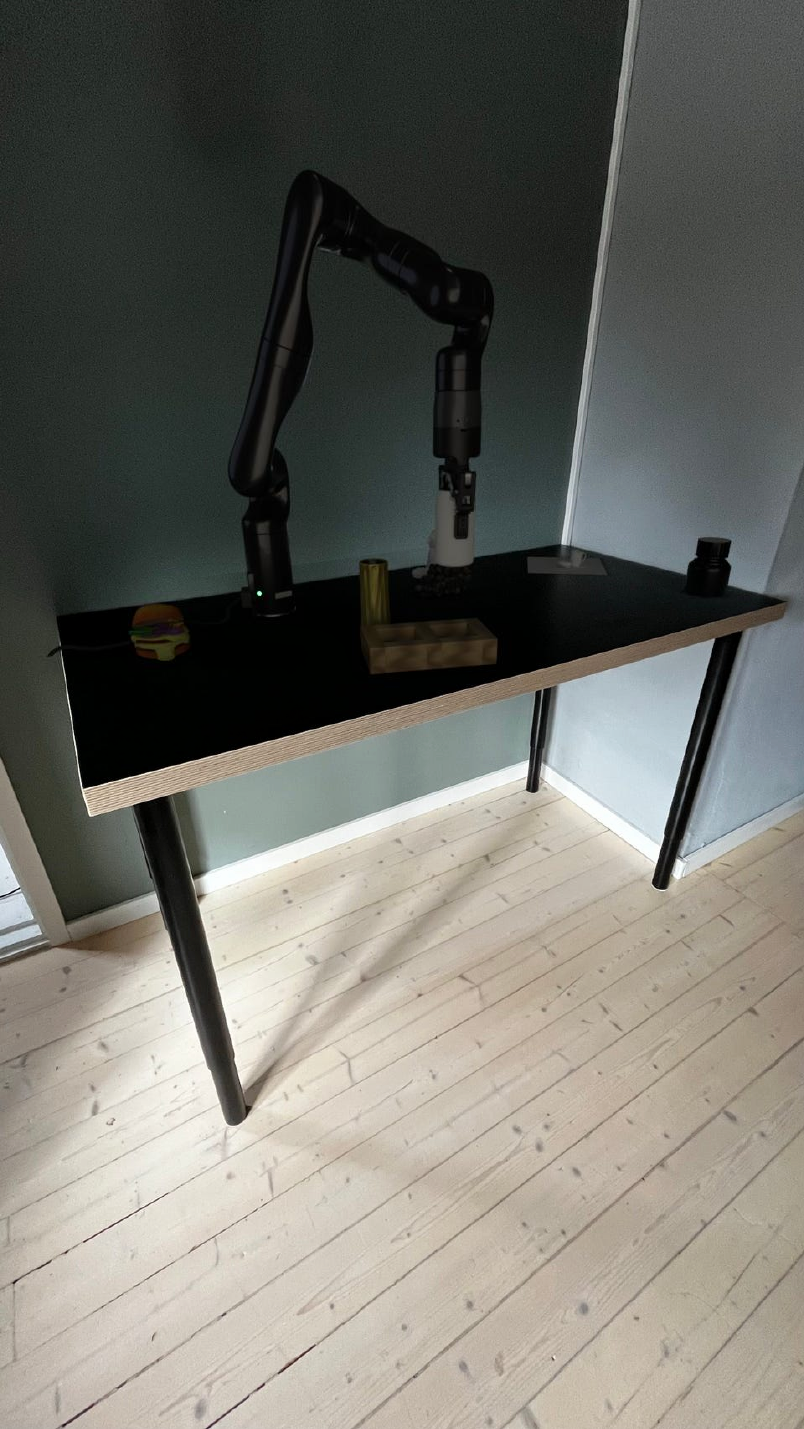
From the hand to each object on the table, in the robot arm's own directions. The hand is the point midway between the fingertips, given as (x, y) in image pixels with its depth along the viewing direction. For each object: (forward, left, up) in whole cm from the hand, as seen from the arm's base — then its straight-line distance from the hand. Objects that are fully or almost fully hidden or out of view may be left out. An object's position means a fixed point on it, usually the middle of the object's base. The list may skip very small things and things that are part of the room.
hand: (454, 534), depth 106 cm
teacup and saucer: (+47, +58, -21) cm, 77 cm away
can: (0, 0, -5) cm, 5 cm away
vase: (-12, +11, -21) cm, 26 cm away
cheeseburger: (-51, +11, -21) cm, 56 cm away
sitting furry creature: (+10, +54, -21) cm, 59 cm away
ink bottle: (+66, +24, -21) cm, 73 cm away
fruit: (+7, +37, -21) cm, 43 cm away
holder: (-5, -2, -20) cm, 21 cm away
